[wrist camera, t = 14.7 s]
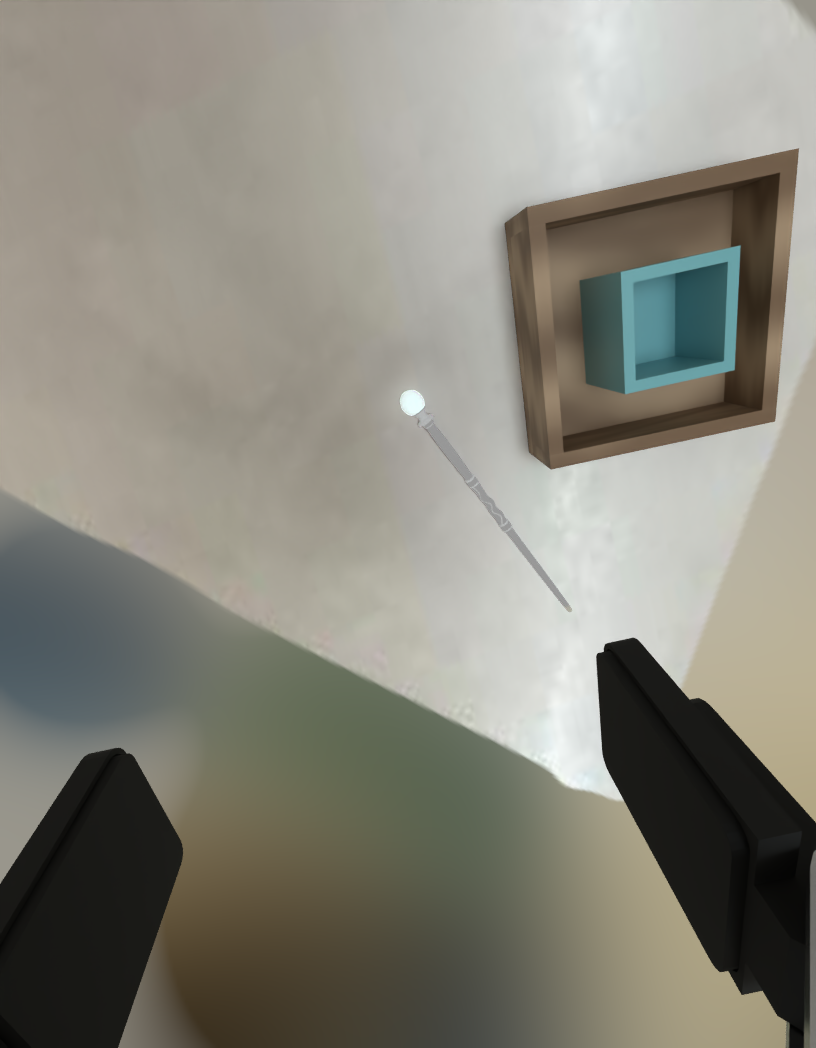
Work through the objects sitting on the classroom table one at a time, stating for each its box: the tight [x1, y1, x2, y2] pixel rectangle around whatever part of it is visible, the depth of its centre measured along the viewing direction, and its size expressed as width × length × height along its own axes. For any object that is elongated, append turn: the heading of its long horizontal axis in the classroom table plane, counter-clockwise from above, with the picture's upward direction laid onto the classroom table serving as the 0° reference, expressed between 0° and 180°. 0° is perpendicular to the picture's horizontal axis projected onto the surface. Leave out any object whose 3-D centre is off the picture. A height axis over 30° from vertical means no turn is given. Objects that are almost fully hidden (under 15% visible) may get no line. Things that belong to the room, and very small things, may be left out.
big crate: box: [505, 148, 799, 469], centre depth 34 cm, size 16×16×5 cm
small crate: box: [580, 245, 741, 394], centre depth 33 cm, size 7×7×6 cm
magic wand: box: [400, 390, 572, 612], centre depth 41 cm, size 2×25×2 cm
